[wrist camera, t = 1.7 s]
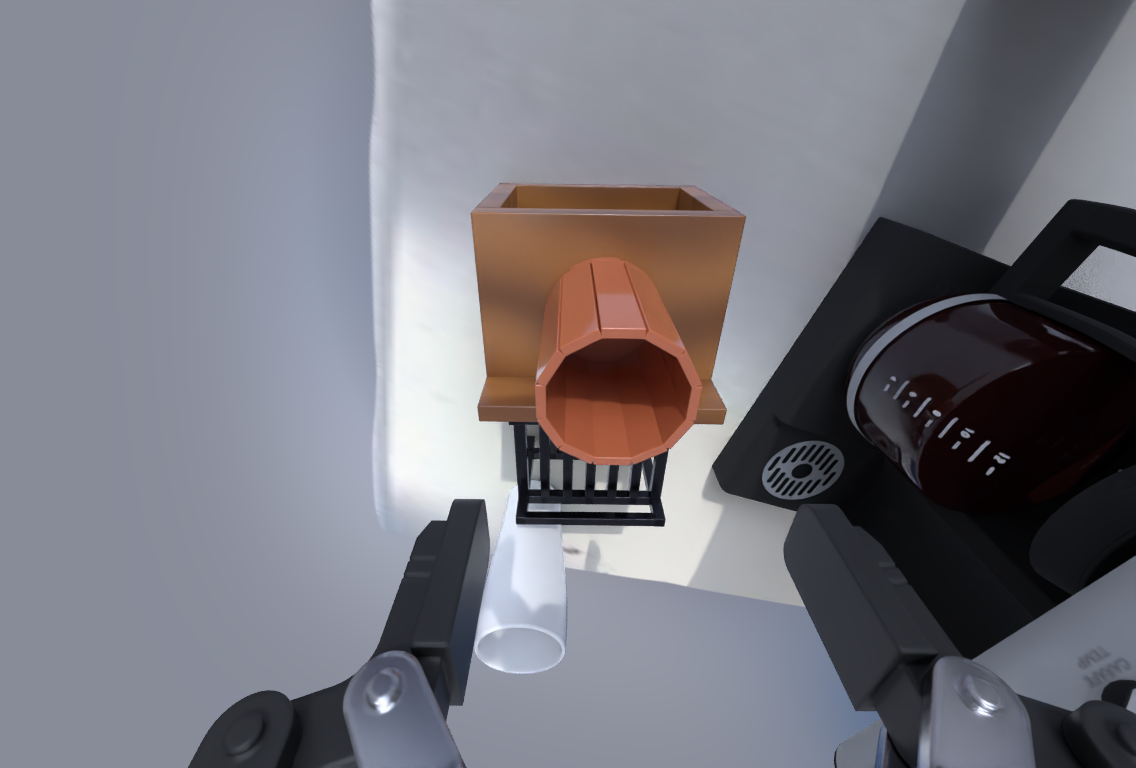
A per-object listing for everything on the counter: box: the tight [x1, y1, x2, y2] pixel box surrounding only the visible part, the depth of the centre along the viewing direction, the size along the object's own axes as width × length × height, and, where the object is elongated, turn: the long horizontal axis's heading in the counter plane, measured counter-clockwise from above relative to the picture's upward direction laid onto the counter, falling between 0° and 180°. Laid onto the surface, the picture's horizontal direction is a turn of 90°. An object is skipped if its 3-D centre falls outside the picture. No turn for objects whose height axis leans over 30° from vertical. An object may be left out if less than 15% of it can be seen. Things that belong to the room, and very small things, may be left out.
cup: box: [535, 257, 702, 465], centre depth 20 cm, size 6×6×8 cm
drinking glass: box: [474, 480, 567, 674], centre depth 38 cm, size 7×7×15 cm
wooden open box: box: [471, 183, 746, 424], centre depth 26 cm, size 10×13×13 cm
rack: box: [509, 422, 669, 527], centre depth 34 cm, size 10×11×10 cm
